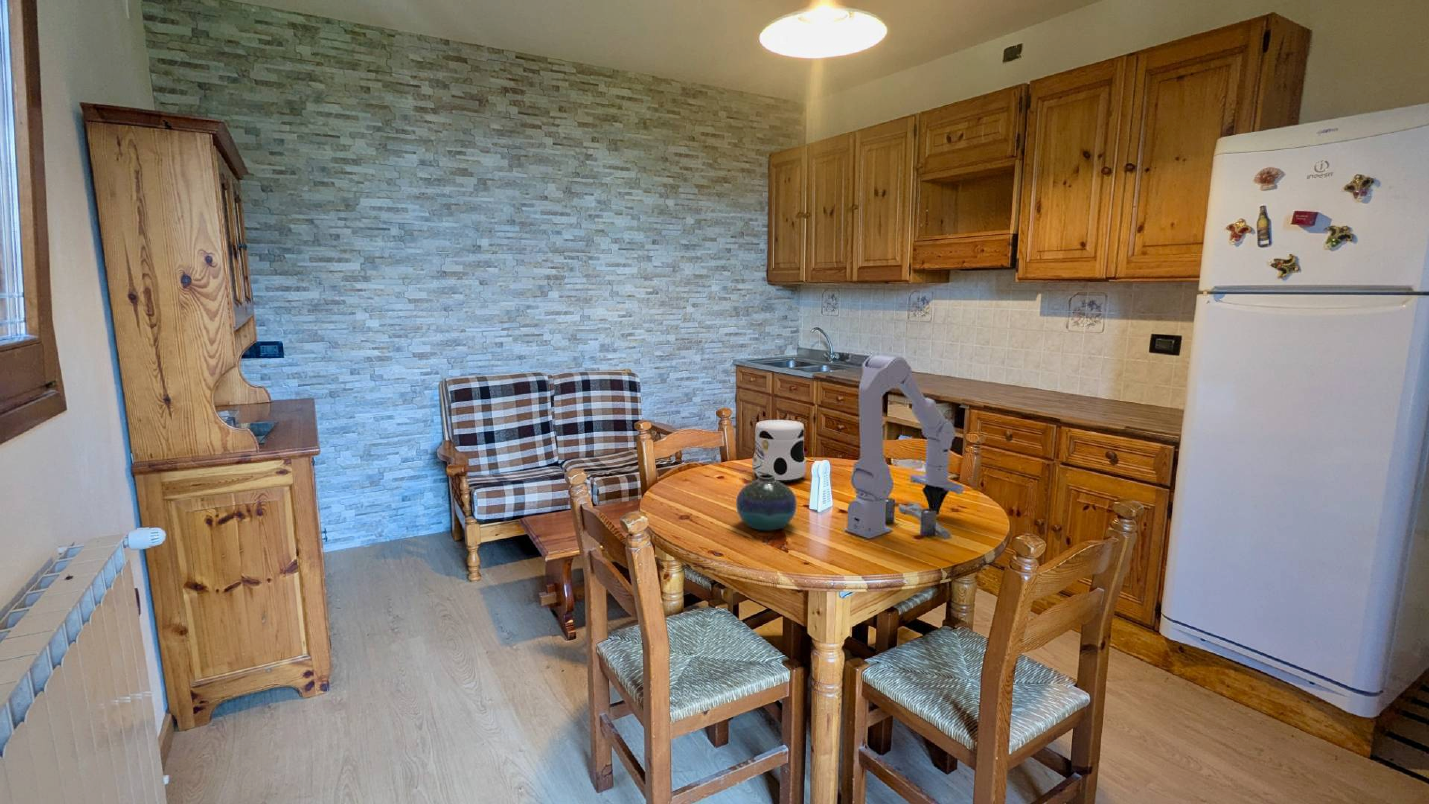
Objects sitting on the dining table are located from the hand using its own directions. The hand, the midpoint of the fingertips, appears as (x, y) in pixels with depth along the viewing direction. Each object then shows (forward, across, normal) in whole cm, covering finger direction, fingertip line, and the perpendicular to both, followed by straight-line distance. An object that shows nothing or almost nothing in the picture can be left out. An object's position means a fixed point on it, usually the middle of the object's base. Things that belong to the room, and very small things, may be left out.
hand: (934, 513), depth 178 cm
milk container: (+1, +54, +4) cm, 54 cm away
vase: (+1, +24, +39) cm, 46 cm away
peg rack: (+1, 0, +12) cm, 13 cm away
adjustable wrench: (+2, +1, +5) cm, 5 cm away
